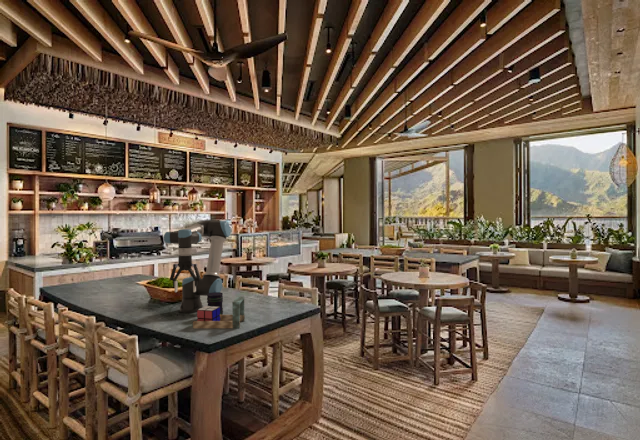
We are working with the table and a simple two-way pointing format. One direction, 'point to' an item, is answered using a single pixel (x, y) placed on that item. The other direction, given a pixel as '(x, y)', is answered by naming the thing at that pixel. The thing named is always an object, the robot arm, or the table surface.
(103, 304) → the table surface
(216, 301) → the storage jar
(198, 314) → the puzzle cube
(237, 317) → the channel
